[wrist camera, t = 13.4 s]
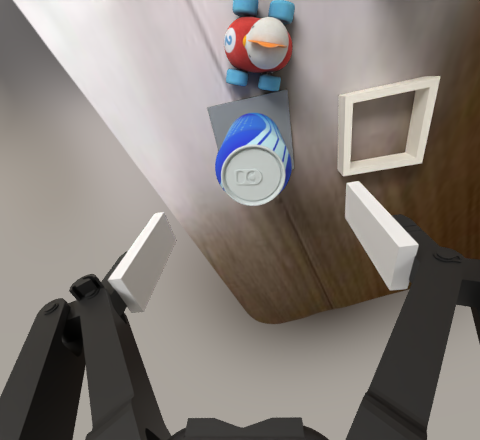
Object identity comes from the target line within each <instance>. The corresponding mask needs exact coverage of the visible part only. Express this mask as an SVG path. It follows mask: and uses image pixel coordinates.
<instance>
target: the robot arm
mask: <svg viewBox="0 0 480 440" xmlns="http://www.w3.org/2000/svg"><path fill="white" fill-rule="evenodd" d="M345 218H346V220H347V222H348V223H349V225H350V226H351V228H352V230H353V231H354V233H355V235H356V236H357V238H358V239H359V241H360V243H361V244H362V246H363V248H364V249H365V251H366V252H367V254H368V256H369V257H370V259H371V261H372V262H373V264H374V265H375V267H376V269H377V270H378V272H379V274H380V275H381V277H382V278H383V280H384V282H385V283H386V285H387V287H388V288H389V290H401V289H407V288H408V284H409V280H410V282H411V283H412V285H411V287H410V290H409V292H408V295H407V297H406V299H405V302H404V304H403V307H402V309H401V312H400V314H399V317H398V319H397V321H396V324H395V326H394V329H393V331H392V333H391V336H390V338H389V341H388V343H387V346H386V348H385V351H384V353H383V355H382V358H381V360H380V363H379V365H378V368H377V370H376V372H375V375H374V377H373V380H372V382H371V385H370V387H369V389H368V391H367V392H366V393H365V396H364V397H363V400H362V402H361V404H360V406H359V409H358V411H357V414H356V416H355V418H354V421H353V423H352V426H351V428H350V430H349V433H348V435H347V438H346V440H427V425H428V421H429V416H430V412H431V408H432V404H433V400H434V395H435V391H436V387H437V382H438V378H439V374H440V370H441V365H442V361H443V357H444V353H445V349H446V345H447V340H448V336H449V332H450V328H451V323H452V319H453V315H454V310H455V307H456V305H463V306H469V307H471V310H472V314H473V318H474V322H475V326H476V331H477V335H478V339H479V343H480V260H477V259H467V258H464V257H463V256H462V255H461V254H460V253H458V252H457V251H455V250H452V249H449V248H444V247H440V246H439V245H438V244H436V243H435V242H434V241H433V240H432V239H431V238H430V237H429V236H428V235H427V234H426V233H425V232H424V231H422V229H421V228H420V227H419V226H417V225H416V224H415V223H414V222H413V221H412V220H411V219H410V218H408V217H406V216H404V215H401V214H399V215H392V216H391V215H390V214H389V213H388V212H387V210H386V209H385V208H384V207H383V206H382V205H381V204H380V203H379V202H378V201H377V200H376V199H375V198H374V197H373V196H372V195H371V194H370V192H369V191H368V190H367V189H366V188H365V187H364V186H363V185H362V184H361V183H360V182H359V181H355V182H349V183H346V206H345ZM176 241H177V240H176V238H175V236H174V233H173V231H172V229H171V227H170V224H169V222H168V220H167V218H166V216H165V213H164V212H161V213H155V214H154V215H153V217H152V218H151V219H150V221H149V222H148V224H147V225H146V227H145V228H144V229H143V231H142V232H141V234H140V235H139V237H138V238H137V239H136V241H135V242H134V244H133V245H132V246H131V248H130V249H129V251H128V252H125V253H124V254H123V255H121V256H120V257H119V258H118V260H117V261H116V263H115V264H114V265H113V267H112V269H111V270H110V271H109V272H108V274H107V275H106V276H105V278H104V279H103V280H102V282H100V281H99V279H98V278H97V277H96V275H94V274H90V275H86V276H84V277H82V278H80V279H78V280H77V281H76V282H75V283H73V284H72V286H71V287H70V290H69V291H70V292H71V293H72V295H73V296H74V297H75V298H76V299H77V300H76V301H73V302H71V303H67V302H66V301H65V300H64V299H63V298H60V299H56V300H53V301H51V302H49V303H48V304H46V305H45V306H44V307H43V308H42V309H41V310H40V311H39V313H38V314H37V316H36V318H35V321H34V323H33V325H32V327H31V330H30V332H29V334H28V336H27V339H26V341H25V343H24V345H23V347H22V350H21V352H20V354H19V357H18V359H17V361H16V363H15V365H14V368H13V370H12V372H11V374H10V377H9V379H8V381H7V383H6V386H5V388H4V390H3V392H2V394H1V397H0V440H72V439H73V433H74V427H75V421H76V416H77V410H78V405H79V398H80V393H81V387H82V382H83V376H84V370H85V365H86V371H87V379H88V389H89V397H90V406H91V415H92V423H93V429H92V431H91V432H89V433H88V434H87V436H86V439H85V440H328V439H327V438H326V437H325V436H323V435H322V434H320V433H319V432H317V431H315V430H313V429H311V428H309V427H306V426H303V423H302V418H270V419H267V420H265V421H262V422H259V423H256V424H253V425H250V426H247V427H244V428H240V427H237V426H234V425H232V424H229V423H226V422H224V421H221V420H218V419H215V418H188V422H187V426H186V428H184V429H182V430H180V431H178V432H177V433H175V434H174V435H173V436H171V435H170V433H169V431H168V429H167V428H166V426H165V424H164V421H163V418H162V415H161V413H160V410H159V407H158V404H157V401H156V398H155V396H154V393H153V390H152V387H151V384H150V381H149V378H148V376H147V373H146V370H145V367H144V364H143V361H142V358H141V356H140V353H139V350H138V347H137V344H136V342H135V339H134V336H133V333H132V330H131V327H130V324H129V322H128V319H127V316H126V315H125V313H124V311H125V309H126V307H128V308H129V310H130V311H131V312H132V313H135V312H144V310H145V308H146V306H147V303H148V301H149V299H150V297H151V295H152V293H153V291H154V288H155V286H156V284H157V282H158V280H159V278H160V275H161V273H162V271H163V269H164V267H165V265H166V263H167V260H168V258H169V256H170V254H171V252H172V250H173V247H174V245H175V243H176Z"/></svg>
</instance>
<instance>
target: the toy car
mask: <svg viewBox="0 0 480 440" xmlns="http://www.w3.org/2000/svg"><path fill="white" fill-rule="evenodd" d="M257 10H258V0H234V1H233V12H234V14H236V15H238V16H241V17H240V18H238V19H236V20H235V21H234V22H233V23H232V24H231V25H230V26H229V28H228V30H227V32H226V35H225V39H224V48H225V53H226V55H227V58H228V59H229V61H230V63H231V64H232V65H233V66H234V67H235V68H237V69H238V70H235V69H228V70H227V77H226V82H227V83H229V84H234V85H240V86H246V85H247V82H248V72H256V73H262V74H261V75H260V77H259V83H258V88H259V89H263V90H269V91H278V90H279V87H280V82H281V78H280V77H277V76H272V75H270V74H267V72H268V73H271V74H272V73H273V72H274V71H278V70H280V69H282V68H283V67H285V65H286V64H287V63H288V61H289V60H290V57H291V54H292V40H291V37H290V35H289V33H288V32H287V30H286V28H285V26H284V25H283V24H290V23H291V22H292V20H293V15H294V10H295V6H294V4H293V3H291V2H288V1H284V0H275V1H272V2H271V3H270V8H269V15H268V17H265V18H262V19H260V18H256V15H257Z"/></svg>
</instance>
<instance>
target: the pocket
mask: <svg viewBox="0 0 480 440" xmlns="http://www.w3.org/2000/svg"><path fill="white" fill-rule="evenodd" d="M439 81H440V76H424V77H419V78H415V79H410V80H406V81H401V82H396V83H392V84H387V85H383V86H378V87H373V88H369V89H364V90H360V91H355V92H351V93H346V94H341V95H339V105H338V167H337V170H338V171H339V172H340V173H341V174H342V176H348V175H354V174H360V173H366V172H372V171H378V170H384V169H390V168H396V167H402V166H408V165H414V164H420V163H422V161H423V156H424V151H425V147H426V142H427V137H428V133H429V128H430V123H431V119H432V114H433V109H434V105H435V100H436V95H437V91H438V86H439ZM413 90H416V91H415V97H414V103H413V109H412V114H411V120H410V126H409V132H408V138H407V144H406V150H405V153H399V154H393V155H387V156H382V157H376V158H370V159H364V160H359V161H353V162H350V158H351V137H352V115H353V103H356V102H361V101H366V100H371V99H375V98H380V97H385V96H390V95H394V94H399V93H404V92H409V91H413Z"/></svg>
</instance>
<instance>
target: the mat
mask: <svg viewBox="0 0 480 440" xmlns="http://www.w3.org/2000/svg"><path fill="white" fill-rule="evenodd" d="M208 112H209V116H210V120H211V124H212V128H213V132H214V136H215V140H216V144H217V148H218V151H219V150H220V148H221V146H222V143H223V141H224V139H225V137H226V135H227V133H228V130H229V128H230V127H231V125H232V124H233V122H234V121H235V120H236V119H238V118H239V117H241V116H242V115H245V114H248V113H260V114H263V115H266V116H268V117H269V118H270V119H272V120H273V121H274V123H275V124H276V125H277V127H278V129H279V131H280V134H281V136H282V138H283V140H284V142H285V145H286V147H287V149H288V151H289V154H290V157H291V164H292V168H291V169H294V160H293V148H292V137H291V125H290V113H289V102H288V90H287V89H286V90H281V91H277V92H273V93H268V94H264V95H260V96H255V97H251V98H247V99H242V100H238V101H234V102H229V103H225V104H221V105H216V106H212V107H208Z"/></svg>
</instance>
